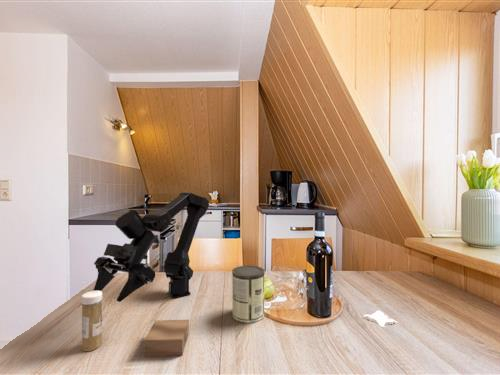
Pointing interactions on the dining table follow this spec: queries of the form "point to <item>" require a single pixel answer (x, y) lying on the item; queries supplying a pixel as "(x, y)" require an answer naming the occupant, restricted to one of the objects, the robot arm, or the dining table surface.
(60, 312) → the dining table surface
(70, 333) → the dining table surface
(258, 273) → the coffee can
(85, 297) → the sprinkles bottle
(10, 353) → the dining table surface
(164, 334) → the walnut box
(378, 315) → the acanthus leaf ornament
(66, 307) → the dining table surface
